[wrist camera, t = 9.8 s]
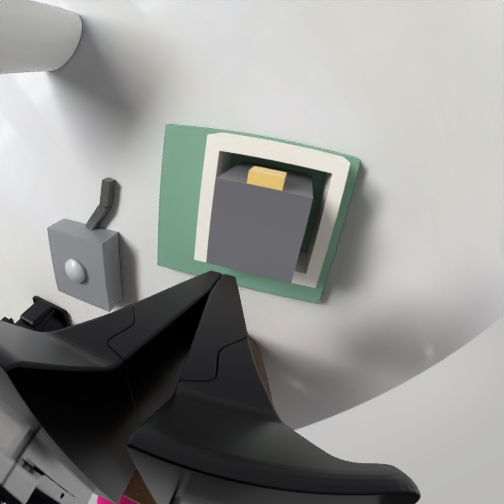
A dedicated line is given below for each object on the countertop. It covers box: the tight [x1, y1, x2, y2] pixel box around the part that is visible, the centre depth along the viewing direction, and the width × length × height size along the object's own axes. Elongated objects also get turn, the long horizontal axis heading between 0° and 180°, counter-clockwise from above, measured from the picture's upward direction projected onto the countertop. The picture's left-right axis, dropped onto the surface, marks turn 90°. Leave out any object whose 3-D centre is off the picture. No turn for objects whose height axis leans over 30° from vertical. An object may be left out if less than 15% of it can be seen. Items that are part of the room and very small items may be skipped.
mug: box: [0, 0, 82, 74], centre depth 11 cm, size 10×7×12 cm, turn 49°
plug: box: [206, 161, 313, 283], centre depth 16 cm, size 5×4×6 cm
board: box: [158, 124, 360, 304], centre depth 19 cm, size 11×13×4 cm
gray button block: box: [47, 178, 123, 312], centre depth 23 cm, size 12×7×3 cm, turn 171°
